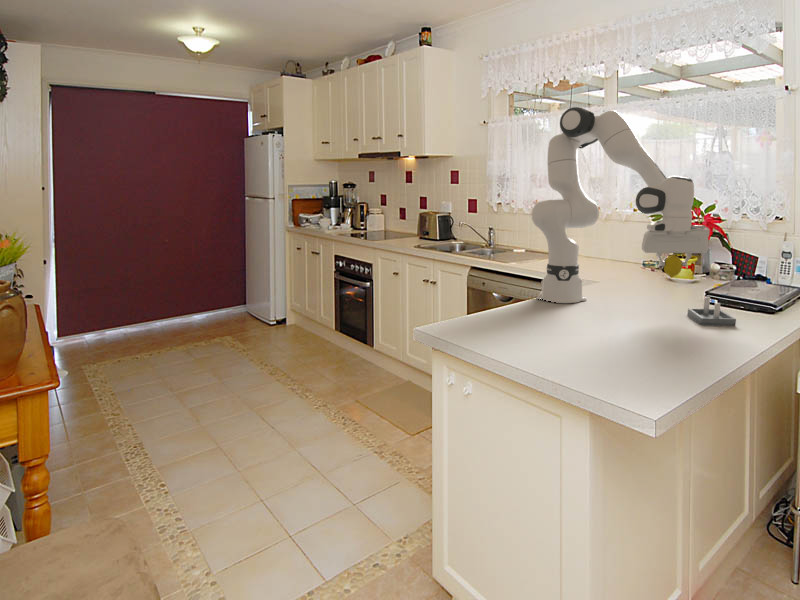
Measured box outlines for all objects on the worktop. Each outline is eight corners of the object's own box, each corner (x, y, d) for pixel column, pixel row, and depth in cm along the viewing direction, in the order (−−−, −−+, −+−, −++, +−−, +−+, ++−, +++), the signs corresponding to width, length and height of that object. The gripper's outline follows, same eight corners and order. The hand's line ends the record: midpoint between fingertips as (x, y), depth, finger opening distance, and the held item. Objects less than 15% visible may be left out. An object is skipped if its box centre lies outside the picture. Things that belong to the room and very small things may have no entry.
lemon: (664, 278, 187) (666, 255, 185) (661, 276, 192) (663, 253, 190) (682, 279, 185) (684, 255, 184) (678, 276, 191) (680, 253, 189)
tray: (687, 315, 189) (689, 295, 188) (719, 316, 188) (721, 296, 186) (700, 325, 176) (702, 304, 175) (735, 326, 174) (737, 305, 173)
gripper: (706, 224, 186) (702, 265, 189) (642, 224, 190) (639, 264, 193) (713, 226, 180) (709, 268, 183) (646, 226, 184) (643, 267, 187)
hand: (672, 266), depth 188 cm, fingers closed on lemon, 6 cm apart
